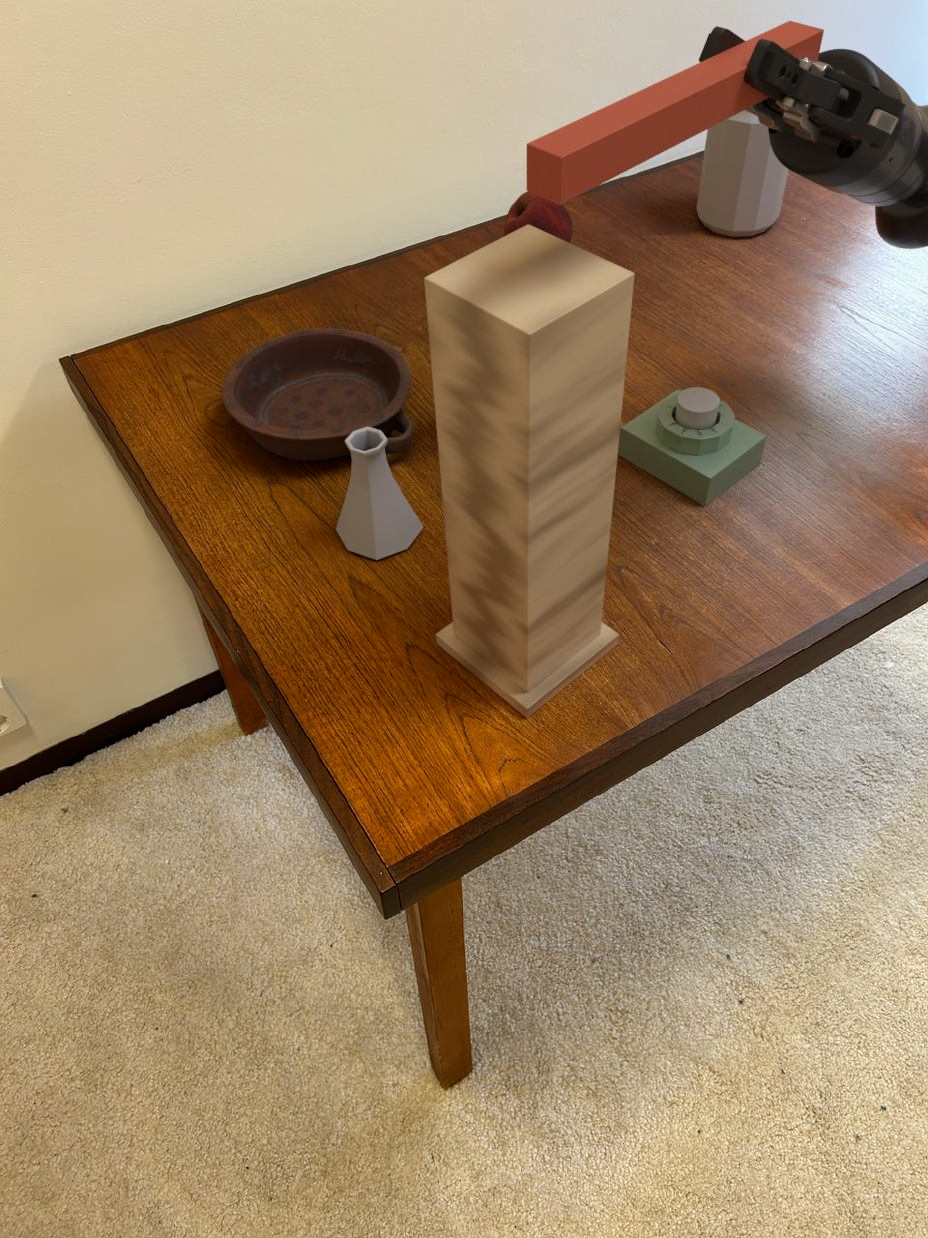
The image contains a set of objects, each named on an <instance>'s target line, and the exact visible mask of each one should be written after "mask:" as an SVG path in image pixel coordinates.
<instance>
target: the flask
mask: <svg viewBox="0 0 928 1238" xmlns="http://www.w3.org/2000/svg"><path fill="white" fill-rule="evenodd" d="M387 443H388V440H387V438H386V435H384V434H383V432H382V431H381V430H378V429H374V428H371V427H365V428H362V429H359V430H356V431H353V432H352V433H351V434H350V435H349V436H348V437H347V439H346V440H345V444H346V446H347V447H348V449H349V450H350V452H351V454H350V457H351V466H350V479H349V483H348V487H347V491H346V493H345V498H344V501H343V504H342V508H341V511H340V514H339V517H338V520H337V524H336V527H335V531H336V533H337V535H338V536H339V538H340V539H341V541H342V544H343V545H344V546H345V548H346V550H347V551H349V552H351V553H355V554H358V555H361V556H364V557H366V558H369V559H372V560H376V561H379V560H381V559H383V558H386V557H389V556H391V555H394V554H397V553H399V552H402V551H406V550H407V549H409V547H410V546H411V545H412V543H413V542H414V541H415V540H416V539H417V538H418V536H419V534H420V533H421V532H422V531H423V529H424V525H423V523H422V522H421V520H420V519H419V517H418V516H417V514H416V512H415V511H414V509H413V508H412V506H411V504H410V503H409V501H408V500H407V498H406V497H405V494H404V493H403V491H402V489H401V487H400V486H399V485H398V482H397V480H396V479H395V477H394V475H393V473H392V471H391V468H390V465H389V462H388V460H387V454H385V446H386V445H387Z"/></svg>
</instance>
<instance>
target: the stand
mask: <svg viewBox="0 0 928 1238" xmlns="http://www.w3.org/2000/svg"><path fill="white" fill-rule="evenodd" d="M635 276H636V274H635V272H634V271H631V270H629V269H627V268H624V267H623V266H620V265H618V264H616V263H614V262H612V261H609V260H607V259H605V258H603V257H601V256H599V255H596V254H594V253H592V252H589V251H587V250H586V249H583V248H581V247H580V246H576V245H575V244H572V243H571V242H570V243H568V242H566V241H564V240H562V239H559V238H557V237H555V236H553V235H551V234H548V233H546V232H544V231H542V230H540V229H538V228H535V227H533V226H531V225H526V226H524V227H522V228H520V229H518V230H516V231H514V232H512V233H510V234H508V235H506V236H504V235H503V236H502V237H501V238H499V239H497V240H495V241H493V242H491V243H489V244H487V245H485V246H483V247H481V248H479V249H477V250H475V251H473V252H471V253H469V254H467V255H465V256H463V257H461V258H459V259H457V260H455V261H453V262H452V263H450V264H448V265H446V266H444V267H442V268H440V269H438V270H435V271H434V272H433V273H430V274H428V275H426V276H425V277H424V278H423V283H424V295H425V307H426V317H427V318H426V319H427V329H428V331H427V332H428V342H429V351H430V353H429V354H430V367H431V377H432V379H431V380H432V391H433V402H434V411H435V412H434V414H435V425H436V426H435V427H436V436H437V450H438V461H439V462H438V463H439V473H440V487H441V497H442V508H443V509H442V511H443V519H444V532H445V544H446V545H445V546H446V555H447V566H448V569H447V570H448V580H449V581H448V582H449V591H450V592H449V593H450V605H451V616H452V617H451V618H452V621H451V622H450V623H448V625H446V626H444V628H442V629H441V630H439V631H437V632H436V633H435V642H436V645H437V646H439V647H440V648H441V649H442V650H443V651H444V652H446V653H447V654H448V655H450V656H451V657H452V658H453V659H454V660H455V661H457V662H458V663H459V664H460V665H462V666H463V667H464V668H465V669H467V670H468V671H469V672H470V673H471V674H472V675H474V676H475V677H476V678H478V679H479V680H480V681H481V682H482V683H484V685H486V686H487V687H488V688H489V689H491V690H492V691H493V692H494V693H496V694H497V695H498V696H499V697H500V698H501V699H503V700H504V701H506V703H508V704H509V705H510V706H511V707H512V708H514V709H515V710H516V711H517V712H519V714H521V715H522V716H523V717H524V718H526V719H528V718H529V717H530V716H532V715H533V714H534V713H536V712H537V711H538V710H540V709H541V708H542V707H543V706H544V705H545V704H547V703H548V702H549V701H551V700H552V699H553V698H554V697H555V696H557V694H559V693H560V692H562V691H563V690H564V689H565V688H566V687H567V686H569V685H570V684H571V683H573V682H574V681H575V680H576V679H577V678H579V677H580V676H581V675H582V674H583V673H584V672H586V671H587V670H588V669H589V668H591V667H592V666H593V665H594V664H596V663H597V662H598V661H599V660H601V659H602V658H603V657H605V656H606V655H607V654H608V653H609V652H611V651H612V650H613V649H614V648H616V646H618V644H619V640H620V634H619V633H618V632H617V631H615V630H614V629H613V628H612V627H610V626H608V625H607V624H606V623H604V622H603V612H604V601H605V592H606V581H607V569H608V559H609V550H610V549H609V548H610V541H611V539H610V538H611V528H612V517H613V507H614V497H615V496H614V495H615V485H616V477H617V476H616V475H617V464H618V456H619V455H618V454H619V443H620V433H621V422H622V412H623V402H624V401H623V400H624V392H625V391H624V390H625V381H626V371H627V360H628V358H627V357H628V348H629V337H630V327H631V317H632V306H633V296H634V286H635Z"/></svg>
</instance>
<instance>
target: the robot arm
mask: <svg viewBox="0 0 928 1238" xmlns="http://www.w3.org/2000/svg"><path fill="white" fill-rule="evenodd" d="M745 41H746V40H744V39H743V38H742V37H740V36H739V35H737V34H736V33H735V32H733V31H732V30H730V29H729V28H725V27H723V26H722V27H721V26H715V27H713V28H712V30H711V31H710V33H708V35H707V37H706V40H705V43H704V45H703V48H702V50H701V53H700V55H699V58H698V61H699V62H698V63H700V62H702V61H705V60H707V59H709V58H711V57H713V56H715V55H717V54H720V53H722V52H724V51H726V50H728V49H730V48H732V47H735V46H737V45H739V44H741V43H743V42H745ZM744 81H745V83H747V84H748V85H750V86H751V87H753V88H755V89H756V90H758V91H759V92H761V93H763V94H764V95H766V96H768V97H769V98H767V99H765V100H763V101H761V102H759V103H757V104H755V105H753V106H751V107H749V108H747V109H745V110H746V111H748V112H750V113H752V114H754V115H756V116H758V119H759V122H760V123H761V124H763V125H765V126H767V127H768V133H769V140H770V144H771V147H772V150H773V152H774V154H775V156H776V157H777V159H778V160H779V161H780V162H781V164H782V165H784V166H785V167H786V168H787V169H789V171H790V172H792V173H795V174H796V175H798V176H800V177H802V178H804V179H806V180H808V181H810V182H812V183H814V184H816V185H818V186H820V187H822V188H824V189H826V190H828V191H830V192H834V193H837V194H841V195H847V196H848V197H850V198H852V199H854V200H856V201H857V202H860V203H862V204H865V205H867V206H868V205H869V206H872V207H874V217H875V227H876V231H877V234H878V236H879V237H880V238H881V240H883V241H884V242H885V243H886V244H888V245H890V246H891V247H894V248H898V249H904V250H915V249H922V248H927V247H928V104H925V105H918V104H917V103H915V101H913V100H912V98H911V96H910V95H909V94H908V92H907V91H906V89H905V88H904V87H903V86H901V84H899V83H898V82H897V81H896V80H895V79H894V78H893V77H891V76H890V75H889V74H887V73H886V72H885V71H884V70H883V69H882V68H880V67H879V66H878V65H877V64H876V63H875V62H873V61H872V60H871V59H870V58H869V57H867V55H865V54H863V53H861V52H858V51H857V50H854V49H849V48H832V49H827V50H824V51H820V52H819V56H818V61H816V60H810V59H808V58H806V57H802V58H798V57H794V56H793V55H791V54H790V53H789V52H787V51H786V50H784V49H783V48H782V47H780V46H779V45H778V44H776V43H775V42H773V41H769V40H766V39H760V40H759V41H758V42H757V44H756V46H755V48H754V51H753V53H752V55H751V58H750V60H749V62H748V65H747V69H746V71H745V75H744Z"/></svg>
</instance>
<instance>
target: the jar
mask: <svg viewBox="0 0 928 1238" xmlns="http://www.w3.org/2000/svg"><path fill="white" fill-rule="evenodd" d="M789 171H790V170H789V169H787V168H786V167H785V166H784V165H782V164H781V162H780V161H779V160H778V159H777V157H776V156H775V154H774V152H773V150H772V147H771V144H770V140H769V133H768V127H767V126H765V125H763V124H761V123H760V122H759V119H758V116H756V115H754V114H752V113H750V112H748V111H746V110H744V111H742V112H740V113H738V114H736V115H734V116H732V117H730V118H728V119H726V120H724V121H722V122H720V123H718V124H716V125H715V126H713V127H711V128H709V129H707V130H706V138H705V144H704V152H703V159H702V167H701V172H700V173H701V174H700V180H699V187H698V193H697V201H696V212H697V215H698V218H699V220H700V222H701V223H702V224H703V226H704V227H706V228H707V229H708V230H710V231H711V232H713V233H714V234H719V235H722V236H727V237H730V238H738V237H739V238H740V237H741V238H743V237H753V236H755V235H758V234H762V233H764V232H765V231H767V230H768V229H769V228H770V227H771V226H772V225H773V224H774V223H775V222H776V221H777V219H778V218H779V217H780V214H781V209H782V205H783V201H784V195H785V190H786V186H787V181H788V176H789V173H790V172H789Z"/></svg>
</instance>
